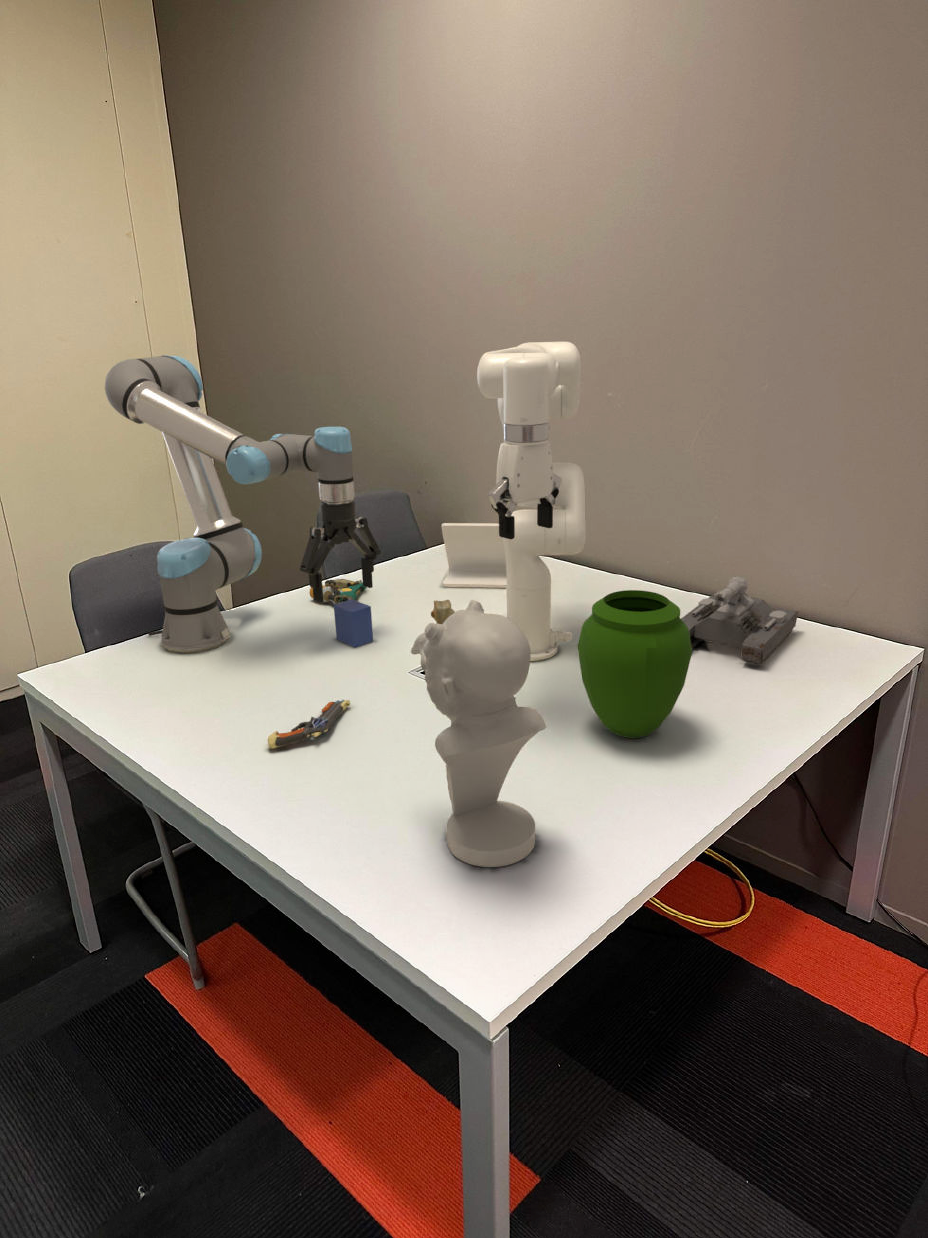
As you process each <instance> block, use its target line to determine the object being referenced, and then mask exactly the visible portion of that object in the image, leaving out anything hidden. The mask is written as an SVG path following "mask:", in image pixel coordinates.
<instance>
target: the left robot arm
mask: <svg viewBox="0 0 928 1238" xmlns="http://www.w3.org/2000/svg"><path fill="white" fill-rule="evenodd" d="M203 390H204V385H203V381H202V377H201V375H200V373H199V371H198V369H197V367H196V366H195V365H194V364H193V363H191V362H190V361H189V360H187V359H186V358H184V357H182V356H179V355H167V354H166V355H165V354H163V355H159V356H149V357H143V358H141V357H140V358H129V359H128V358H127V359H124V360H121V361H119V362H117V363H115V364H114V365H113V366H112V367H111V368H110V369H109V370H108V372H107V374H106V376H105V380H104V391H105V396H106V399H107V401H108V402H109V405H111V407H112V408H113V409H114V410H115V411H116V412H117V413H118V414H120V415H121V416H123V417H124V418H125V419H128V420H130V421H131V422H133V423H135V424H137V425H143V424H147V425H149V426H150V427H152V428H155V429H157V430H158V431H160V432H161V434H162V436H163V439H164V442H165V444H166V447H167V449H168V453H169V455H170V457H171V461H172V463H173V465H174V469H175V471H176V475H177V476H178V479H179V481H180V485H181V488H182V490H183V493H184V495H185V498H186V500H187V503H188V506H189V509H190V511H191V514H192V517H193V520H194V522H195V524H196V529H195V531H194V533H193V537H188V538H183V539H178V540H175V541H171V542H169V543H168V544H165V545H164V546H163V547H161V548H160V550H159V551H158V553H157V556H156V560H157V573H158V577H159V583H160V589H161V595H162V600H163V607H164V612H165V613H164V620H163V625H162V629H159V630H155V631H150V632H148V634H147V635H148V636H150V637H151V636H155V635H161V638H160V642H161V646H162V648H163V649H164V650H165V651H167V652H170V653H174V654H196V653H202V652H207V651H211V650H213V649H217V648H219V647H221V646H223V645H225V644H226V643H227V642H228V641H229V640H230V638H231V633H230V629H229V626H228V624H227V622H226V620H225V618H224V616H223V614H222V612H221V610H220V608H219V604H218V599H217V598H218V597H217V590H219V589H222V588H224V587H227V586H229V585H232V584H234V583H236V582H240V581H244V580H245V579H246V578H248V577H249V576H251V575H253V574H254V573H256V571H257V570H258V569H259V566H260V564H261V563H262V557H263V552H262V546H261V543H260V540H259V538H258V537H257V536H256V533H253V532H252V530H250V529H249V528H245V527H244V524H243V523H242V520H241V519H239V518H238V517H235V516H234V515H233V514H232V511H231V509H230V505H229V503H228V500H227V497H226V494H225V491H224V488H223V486H222V483H221V480H220V478H219V477H220V476H219V475H218V472H217V469H216V467H215V464H214V461H215V462H218V463H220V464H221V465H223V466H225V467H226V471H227V472H228V474H229V475H230V476H231V477H232V480H233V481H234V482H236V483H237V484H240V485H252V484H259V483H262V482H264V481H267V480H270V479H273V478H276V477H280V476H284V475H287V474H290V473H294V472H298V471H301V472H304V471H305V472H311V473H313V472H314V473H316V472H317V473H316V474H317V482H318V495H319V496H318V497H319V500H320V501H321V502H320V503H319V509H320V518H321V521H322V525H321V527H315V526H311V527H310V528H309V539H308V541H307V545H306V548H305V551H304V554H303V558H302V560H301V564H300V567H299V571H300V572H302V573H304V574H308V581H309V582H308V583H309V587H310V588H313V598H314V599H313V598H312V599H313V601H315V602H317V603H320V604H322V603H325V602H324V601H323V588H322V585H323V577H322V573H321V572H320V570H321V568H322V566H323V565H324V562H325V561H326V559H327V557H328V555H329V554H330V552H331V550H332V549H333V548H334V547H335V546H336V545H340V544H342V543H349V542H350V543H351V544H352V545H353V546H354V547H355V548H356V549H357V551H359V553H361V555H362V556H363V557H361V558H360V561H361V562H360V563H361V576H362V578H361V581H362V582H363V586H365V587H366V588H369V589H372V588H374V587H373V573H374V571H375V567H374V566H375V564H374V563H375V560H377V558H378V557H377V556H379V555H381V549H380V547H379V545H378V544H377V541H376V539H375V537H374V536H373V533H372V532H371V530H370V528H369V522H368V519H367V518H366V517H363V516H361V515H360V516H359V515H358V516H357V511H356V501H355V500H354V499H355V498H356V497H355V496H356V493H355V492H356V491H355V480H354V469H353V446H352V439H351V432H350V430H349V429H348V428H346V427H344V426H322V427H318V428H316V429H315V431H314V435H304V434H293V433H290V432H288V433H277V434H274V435H272V436H271V438H270V439H269V440H265V441H257V440H255V439H253V438H251V437H250V436H248V435H245V434H243V433H242V432H240V431H238V430H235V429H234V428H232V427H230V426H228V425H226V424H224V423H223V422H220V420H219V421H218V420H216V419H215V418H212V417H211V416H209V415H207V414H205V413H203V412H201V405H200V403H199V402H200V400H201V399H202V397H203V392H202V391H203ZM356 528H357V530H358V531H359V533H360V535H361V537H362V539H363V541H364V542H363V541H362V540H361V539H360V536H359V535H358V534H357V533H356V532H355V530H356Z"/></svg>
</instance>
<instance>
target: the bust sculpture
mask: <svg viewBox="0 0 928 1238" xmlns="http://www.w3.org/2000/svg"><path fill="white" fill-rule="evenodd" d="M454 612H455V613H453V614H452V615H451V616H450V617H448V618H447V619H446V620H445V622H444V623H443V624H436V623H435V622H430V623H428V624H427V625H426V626H425V628H424V632H423V633H421V634H419V635H418V636H417V637H416V638H415V640H414V642H413V645H412V647H411V649H410V654H412V655H420V667H421V669H422V670H423V672H424V681H425V682H426V690H427V693H428V696H429V698H430V701H431V702H432V704H434V706H435V708H436V710H438V711H439V712H440V713H441V714H442V716H446V717H447V718H448V719H449V720H450V726H448V727H446V728H445V729H443V730H442V731H441V732H440V733H439V734H438V735H436V738H435V741H434V748H435V749H436V752H437V753H438V755H439V757H440V758H441V760H442V761H443V762H444V763H445V771H446V781H447V790H448V796H449V800H450V803H451V810H452V813H451V814H450V815H449V817H448V819H447V822H446V844H447V847H448V849H449V851H450V852H451V854H452V855H453V856H454V857H456V858H457V859H459V860H460V861H462V862H463V863H466V864H469V865H471V866H476V867H483V868H498V867H505V866H509V865H512V864H517V862H520V861H521V860H523V859H525V858H527V856H528V855H530V854H531V852H532V851H533V849H535V848H534V847H535V845H536V822H535V821H536V820H535V819H534V817H533V816H532V814H531V813H530V812H529V811H528V810H526V809H525V808H524V807H522V806H520V805H517V804H515V803H513V802H509V801H504V800H499V796H500V793H501V790H502V788H503V785H504V783H505V780H506V778H507V776H508V773H509V771H510V769H511V768H512V765H513V763H514V761H515V760H516V759H517V756H518V755H519V753H520V752H521V750H522V749H523V748H524V747H525V745H526V744H527V743H528V742H529V741H530V740H531V739H532V738H533V737H535V735H537V734H538V733H539V732H541V731H544V730H545V729H546V728H547V725H546V723H545V720H544V718H543V717H542V714H541V713H540V712H539V711H538V710H537V709H535V708H533V707H530V706H518V705H517V701H516V699H517V698H516V696H515V695H516V694H517V693H519V691H521V689H522V688H523V686H524V684H525V683H526V680H527V678H528V675H529V669H530V666H531V661H530V656H531V655H530V653H531V652H530V646H529V643H528V640H527V638H526V636H525V634H524V633H523V632H522V630H521V629H520V628H519V627H518V626H517V625H516V624H515V623H514V622H513V621H512V620H511V619H509V618H507V616H504V615H503V614H502V615H501V614H496V613H485V609H484V607H483V605H482V603H481V602H480V601H478V600H473V599H472V600H470V601H469V603H468V605H467V607H466V609H460V610H457V611H454Z"/></svg>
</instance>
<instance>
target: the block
mask: <svg viewBox="0 0 928 1238" xmlns="http://www.w3.org/2000/svg"><path fill="white" fill-rule="evenodd" d="M333 613H334V624H335V636H336V640H337V641H338V642H342V643H344V644H346V645H348V646H351V647H352V648H357V647H361V646H365V645H366V644H370V643H373V642H374V631H373V619H372V606H370V605H369V604H366V603H364V602H360V601H358V600H356V599H355V600H353V599H351V600H348V601H345V602H341V603H335V604H333Z"/></svg>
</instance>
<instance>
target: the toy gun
mask: <svg viewBox="0 0 928 1238" xmlns="http://www.w3.org/2000/svg"><path fill="white" fill-rule="evenodd" d="M348 707H351V700H349V699H346V700H345V699H341V700H336V701H329V702H328V703H327V704H326V705H325V706H324V707H323V708H322V709H321V714H320V715H319V716H317V717H314V716H311V717H310V719H309V721H303V722H300V723H298V725H296V726H294V727H293V728H292V729H291V731H288V732H281V733H280V732H279V731H278V730H275V731H273V732H272V733H271V734H269V735H268V737H267V745H268V748H269V749H277V748H280V747H284V746H287V745H291V744H294V743H297V742H301V741H304V740H308V739H310V738H313V737H314V738H317V737H318V736H321V735H322V734H324V733H326V732H328V730H330V728H332V727H333V725H334V723H335V720H336V719H337V718H338V717H339V716H340V714H341V713H342V712H343V711H345V709H346V708H348Z"/></svg>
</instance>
